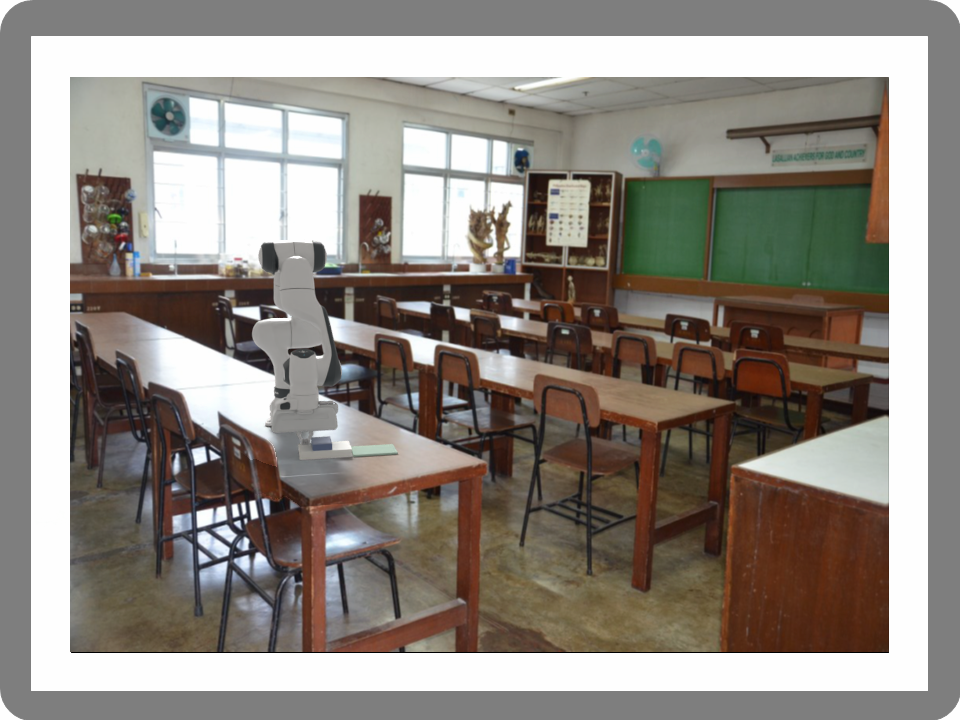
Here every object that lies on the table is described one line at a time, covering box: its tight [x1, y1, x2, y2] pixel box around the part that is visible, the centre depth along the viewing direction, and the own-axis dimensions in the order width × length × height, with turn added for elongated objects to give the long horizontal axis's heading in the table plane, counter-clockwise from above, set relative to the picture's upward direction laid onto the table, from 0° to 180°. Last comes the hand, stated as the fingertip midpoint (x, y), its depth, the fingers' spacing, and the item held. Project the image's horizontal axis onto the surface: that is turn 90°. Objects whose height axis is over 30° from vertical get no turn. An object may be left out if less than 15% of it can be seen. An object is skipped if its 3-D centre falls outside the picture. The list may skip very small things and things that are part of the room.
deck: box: [297, 440, 353, 461], centre depth 249 cm, size 10×16×2 cm, turn 105°
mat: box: [350, 443, 399, 458], centre depth 253 cm, size 10×14×1 cm
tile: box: [310, 435, 333, 451], centre depth 249 cm, size 9×6×2 cm, turn 15°
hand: (305, 444), depth 247 cm, fingers closed
